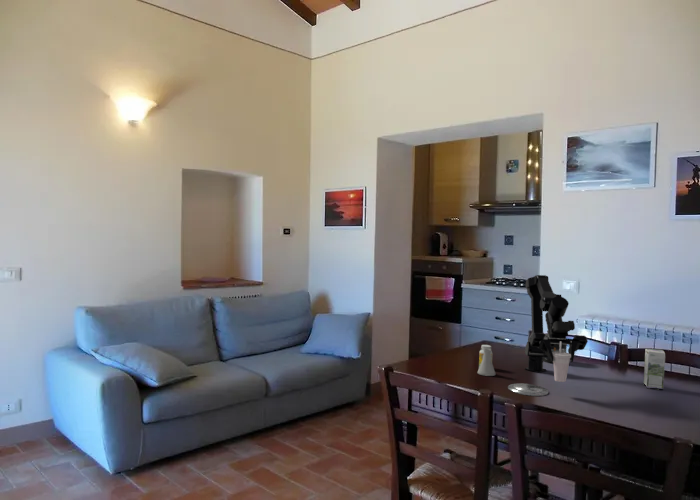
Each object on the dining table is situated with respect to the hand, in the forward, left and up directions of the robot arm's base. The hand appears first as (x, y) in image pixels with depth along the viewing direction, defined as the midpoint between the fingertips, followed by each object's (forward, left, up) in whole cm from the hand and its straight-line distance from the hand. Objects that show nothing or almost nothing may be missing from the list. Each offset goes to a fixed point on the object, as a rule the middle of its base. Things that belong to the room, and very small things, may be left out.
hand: (562, 361), depth 181 cm
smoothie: (-1, -1, -7) cm, 7 cm away
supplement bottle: (-11, -39, -13) cm, 42 cm away
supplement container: (-50, -29, -13) cm, 59 cm away
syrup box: (-43, +15, -13) cm, 47 cm away
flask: (-3, -33, -13) cm, 35 cm away
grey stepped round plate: (+3, -11, -12) cm, 17 cm away
